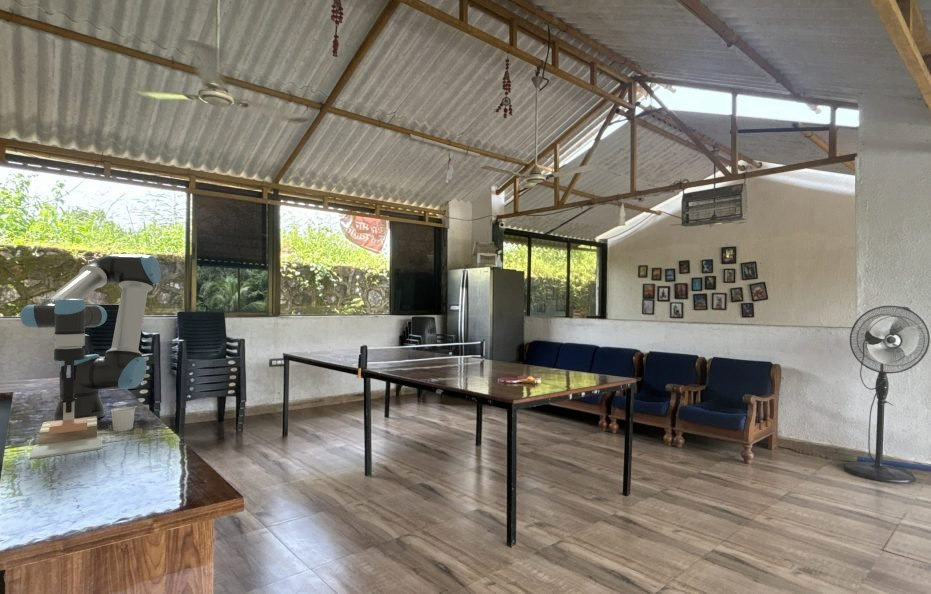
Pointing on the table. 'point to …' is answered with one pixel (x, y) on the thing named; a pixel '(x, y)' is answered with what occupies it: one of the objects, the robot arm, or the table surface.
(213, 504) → the table surface
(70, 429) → the terracotta block
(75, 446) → the grey mat
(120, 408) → the shot glass
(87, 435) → the board
